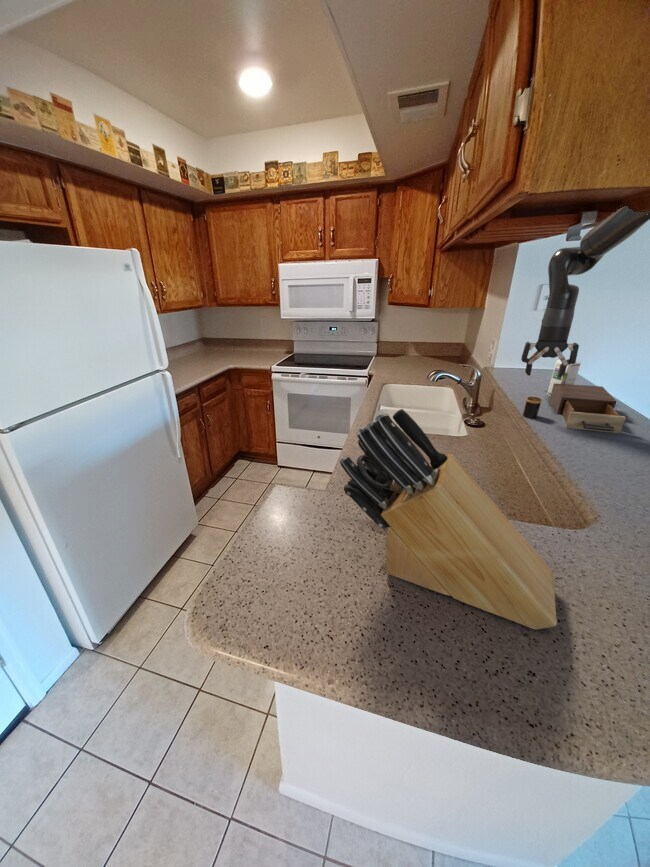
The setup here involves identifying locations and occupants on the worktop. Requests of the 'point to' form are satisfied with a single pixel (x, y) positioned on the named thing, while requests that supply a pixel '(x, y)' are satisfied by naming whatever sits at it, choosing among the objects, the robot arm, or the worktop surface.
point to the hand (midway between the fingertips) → (543, 375)
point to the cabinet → (578, 395)
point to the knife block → (446, 526)
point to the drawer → (592, 416)
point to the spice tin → (532, 407)
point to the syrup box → (567, 377)
